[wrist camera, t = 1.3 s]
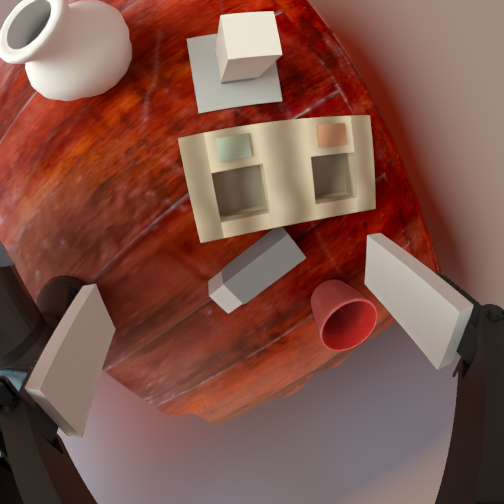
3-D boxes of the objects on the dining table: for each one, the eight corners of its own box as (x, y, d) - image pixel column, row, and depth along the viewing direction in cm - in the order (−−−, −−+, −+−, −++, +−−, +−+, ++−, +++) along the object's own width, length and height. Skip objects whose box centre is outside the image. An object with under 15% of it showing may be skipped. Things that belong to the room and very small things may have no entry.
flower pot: (295, 319, 53) (311, 353, 44) (311, 268, 49) (333, 297, 40) (342, 320, 55) (363, 350, 47) (361, 273, 51) (387, 300, 43)
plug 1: (219, 85, 35) (228, 59, 21) (214, 54, 32) (220, 15, 19) (254, 81, 35) (282, 54, 21) (249, 50, 33) (273, 11, 19)
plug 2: (226, 298, 49) (229, 315, 45) (207, 279, 47) (207, 295, 42) (296, 245, 47) (306, 257, 43) (279, 223, 45) (288, 233, 41)
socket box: (200, 228, 43) (200, 244, 37) (181, 137, 37) (177, 138, 31) (356, 199, 45) (377, 209, 39) (350, 116, 39) (371, 115, 33)
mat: (199, 113, 36) (198, 113, 36) (186, 40, 31) (186, 38, 31) (281, 101, 37) (282, 101, 37) (268, 30, 32) (269, 28, 32)
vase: (131, 103, 34) (72, 82, 16) (50, 108, 31) (-34, 106, 13) (148, 18, 28) (114, -50, 10) (66, 27, 26) (0, -14, 8)
